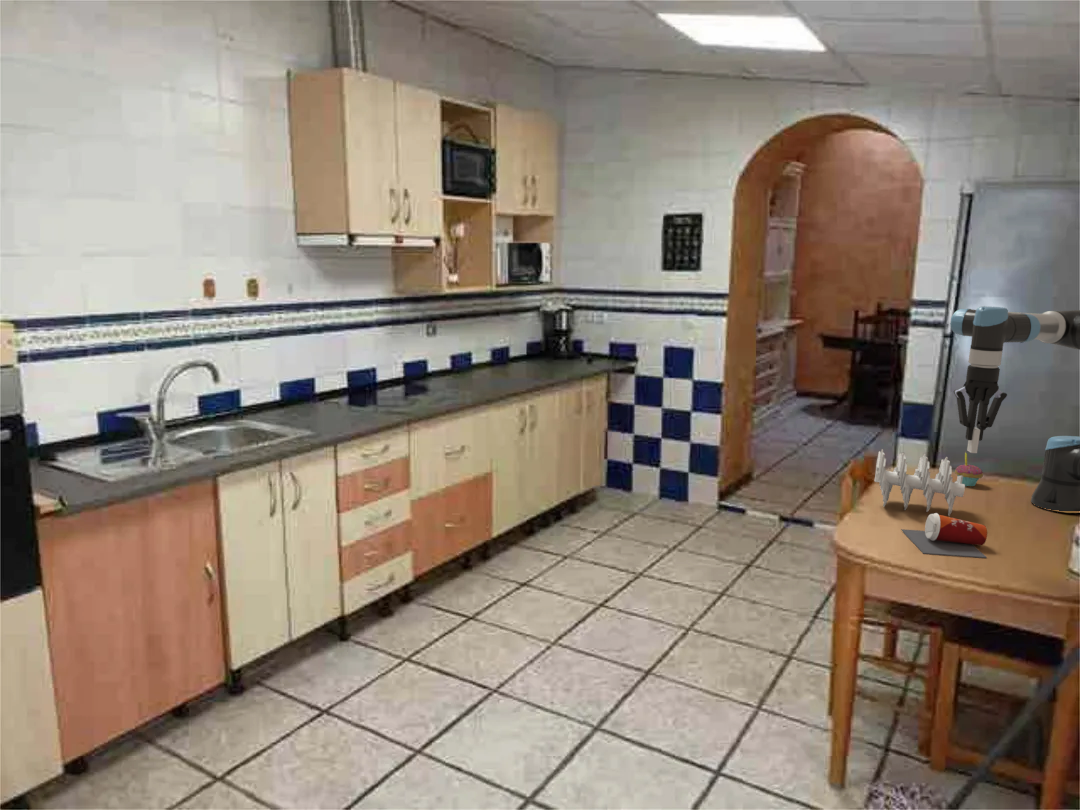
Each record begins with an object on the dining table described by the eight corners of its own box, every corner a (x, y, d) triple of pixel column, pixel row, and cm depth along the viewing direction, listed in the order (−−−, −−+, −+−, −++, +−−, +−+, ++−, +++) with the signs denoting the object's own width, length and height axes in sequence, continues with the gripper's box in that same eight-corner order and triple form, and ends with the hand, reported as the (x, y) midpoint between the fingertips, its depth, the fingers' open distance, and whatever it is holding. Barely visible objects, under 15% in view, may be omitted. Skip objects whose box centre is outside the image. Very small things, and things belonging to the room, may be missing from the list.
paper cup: (991, 523, 215) (937, 514, 217) (986, 551, 215) (932, 542, 217) (978, 519, 223) (926, 510, 224) (973, 546, 223) (922, 537, 225)
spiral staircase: (957, 532, 242) (868, 515, 251) (957, 493, 255) (873, 478, 264) (970, 487, 231) (878, 471, 240) (970, 449, 244) (882, 435, 253)
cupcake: (958, 487, 274) (962, 453, 272) (949, 480, 282) (954, 447, 280) (984, 489, 273) (989, 455, 270) (975, 482, 281) (980, 449, 279)
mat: (959, 534, 228) (959, 533, 228) (986, 558, 211) (986, 557, 211) (900, 530, 230) (901, 529, 230) (923, 553, 212) (923, 552, 212)
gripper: (1003, 364, 214) (991, 449, 219) (952, 362, 216) (941, 447, 220) (1016, 368, 207) (1003, 456, 212) (964, 366, 208) (952, 454, 213)
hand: (971, 451), depth 216 cm, fingers closed
